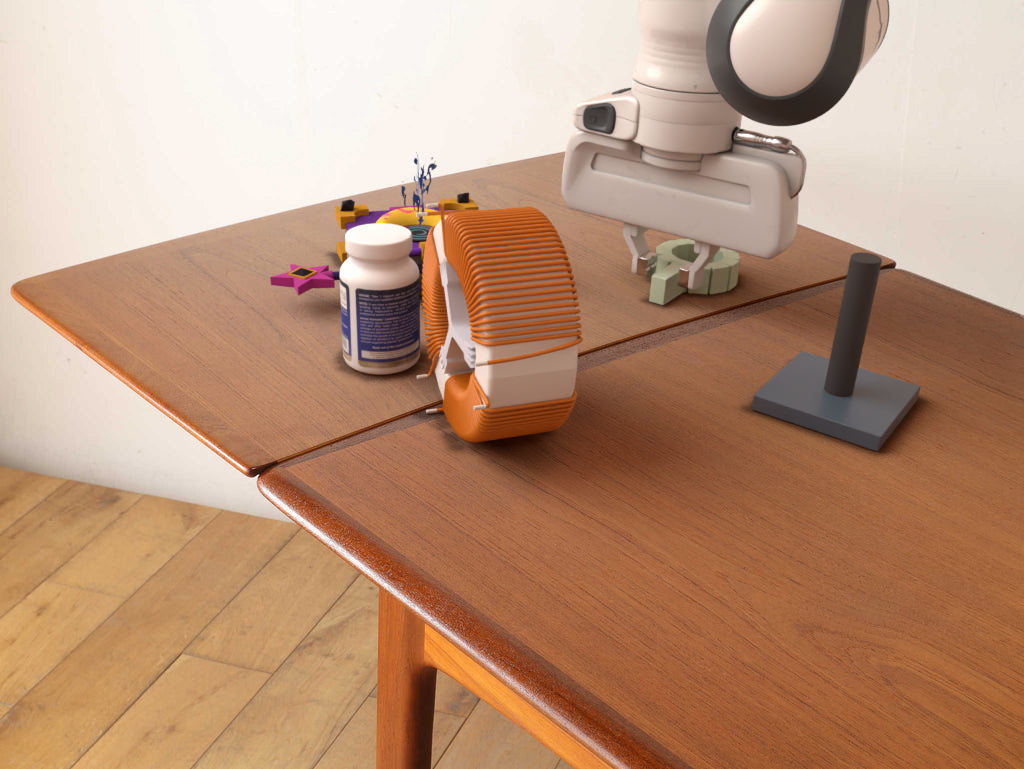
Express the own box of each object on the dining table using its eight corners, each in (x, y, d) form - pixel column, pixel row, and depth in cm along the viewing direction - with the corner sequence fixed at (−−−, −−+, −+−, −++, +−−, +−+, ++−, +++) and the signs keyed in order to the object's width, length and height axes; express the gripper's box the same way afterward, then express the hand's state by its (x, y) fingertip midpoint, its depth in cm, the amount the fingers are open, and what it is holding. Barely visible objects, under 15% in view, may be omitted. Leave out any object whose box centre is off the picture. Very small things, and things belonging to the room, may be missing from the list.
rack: (917, 400, 76) (954, 255, 71) (877, 452, 69) (914, 296, 64) (798, 364, 80) (825, 224, 75) (750, 409, 74) (776, 260, 68)
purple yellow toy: (571, 294, 91) (581, 154, 85) (276, 322, 83) (265, 171, 78) (517, 236, 103) (523, 110, 97) (256, 256, 95) (245, 121, 90)
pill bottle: (435, 355, 79) (435, 230, 75) (388, 385, 75) (385, 253, 70) (375, 336, 82) (372, 213, 77) (326, 363, 78) (320, 235, 73)
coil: (500, 370, 78) (507, 174, 70) (578, 478, 65) (597, 254, 58) (409, 382, 75) (407, 180, 68) (472, 496, 63) (478, 265, 56)
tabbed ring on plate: (749, 276, 96) (753, 251, 95) (695, 315, 88) (698, 288, 87) (676, 256, 99) (679, 232, 98) (618, 292, 91) (620, 266, 90)
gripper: (825, 134, 80) (795, 300, 87) (596, 90, 90) (584, 242, 97) (794, 151, 76) (765, 325, 82) (556, 103, 86) (547, 262, 92)
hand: (666, 280), depth 90 cm, fingers open, 3 cm apart
